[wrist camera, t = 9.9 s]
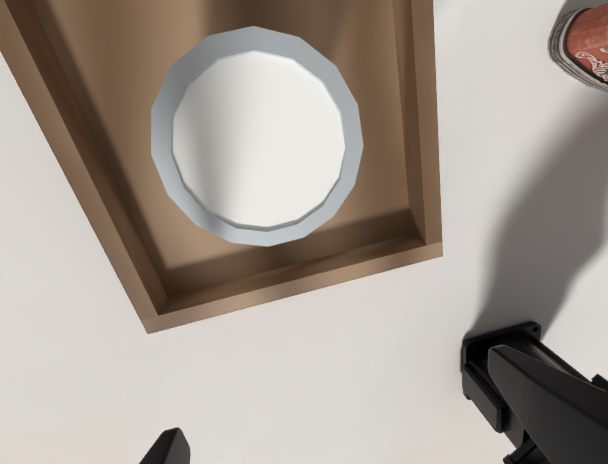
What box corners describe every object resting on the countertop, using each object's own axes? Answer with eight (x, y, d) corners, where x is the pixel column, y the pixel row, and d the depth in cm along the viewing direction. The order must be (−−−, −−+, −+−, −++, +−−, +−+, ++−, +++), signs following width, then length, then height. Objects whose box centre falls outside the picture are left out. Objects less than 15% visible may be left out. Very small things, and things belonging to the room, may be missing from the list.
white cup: (203, 203, 17) (170, 255, 10) (183, 65, 14) (122, 22, 8) (323, 196, 18) (360, 241, 11) (323, 65, 15) (371, 26, 9)
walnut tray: (398, -109, 14) (426, -155, 11) (422, 240, 21) (442, 256, 18) (-3, -32, 13) (-60, -66, 10) (160, 308, 20) (147, 334, 17)
